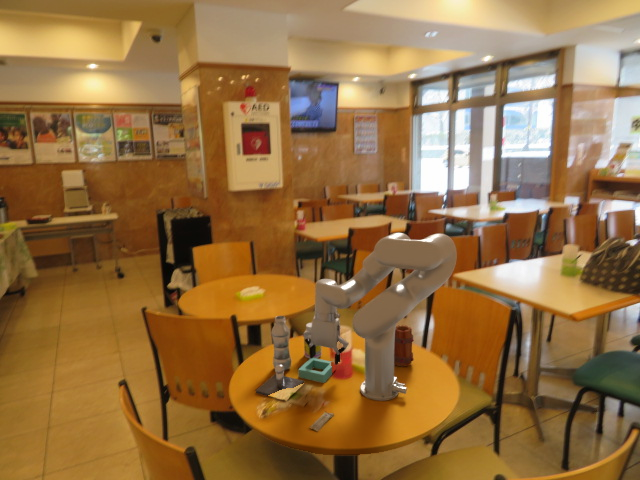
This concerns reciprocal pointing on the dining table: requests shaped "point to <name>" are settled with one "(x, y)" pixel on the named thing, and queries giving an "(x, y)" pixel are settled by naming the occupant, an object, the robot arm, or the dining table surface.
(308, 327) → the supplement bottle
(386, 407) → the dining table surface
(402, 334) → the mug
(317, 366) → the teal square frame
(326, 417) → the snack bar
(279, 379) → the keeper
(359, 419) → the dining table surface
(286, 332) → the plastic bottle
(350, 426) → the dining table surface
